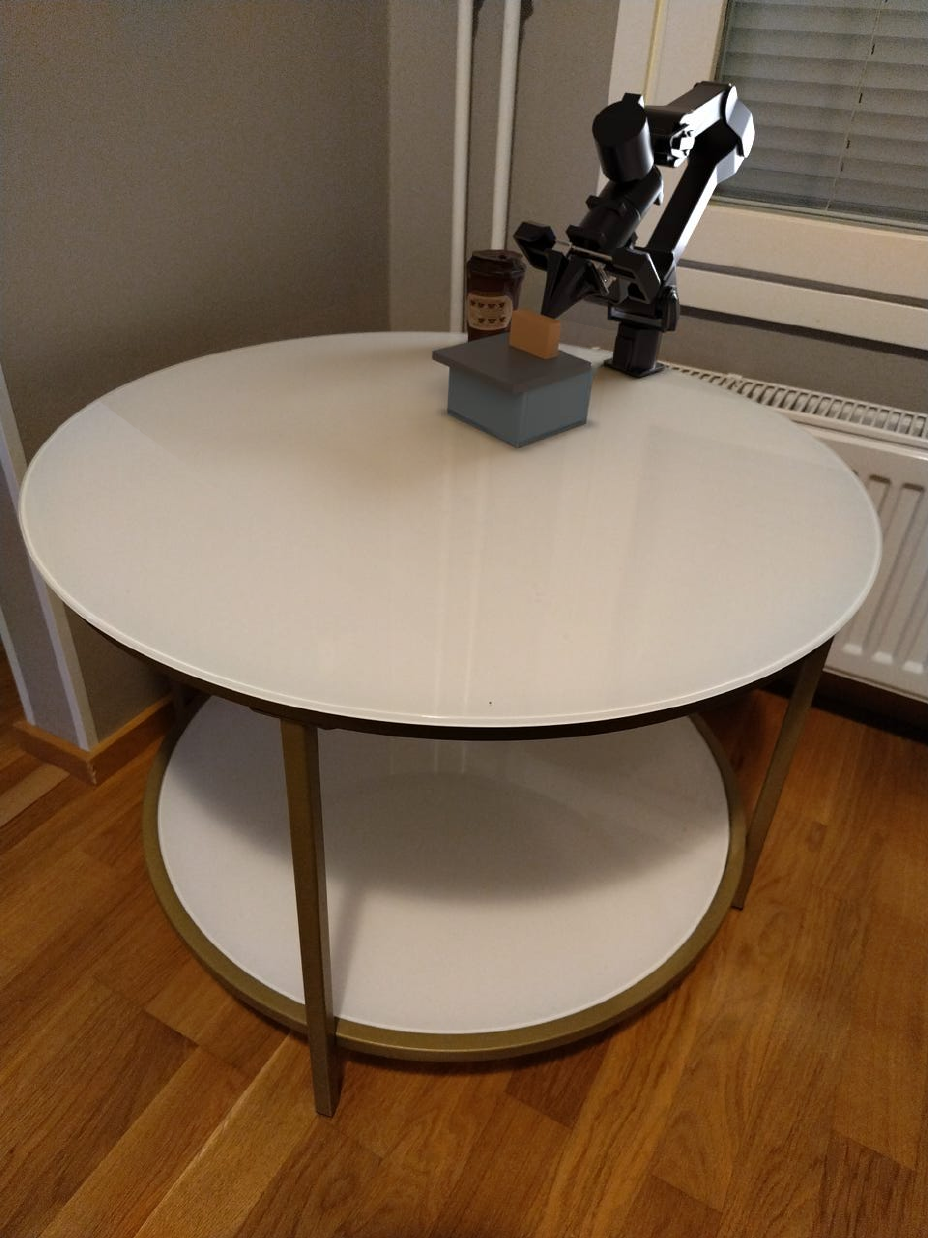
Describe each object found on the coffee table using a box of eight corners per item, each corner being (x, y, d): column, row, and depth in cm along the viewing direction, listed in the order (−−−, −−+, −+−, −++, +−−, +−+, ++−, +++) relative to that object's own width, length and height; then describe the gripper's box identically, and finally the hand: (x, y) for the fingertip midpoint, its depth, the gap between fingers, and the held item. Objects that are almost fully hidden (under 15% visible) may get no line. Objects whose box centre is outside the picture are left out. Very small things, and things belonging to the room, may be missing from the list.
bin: (515, 392, 111) (520, 338, 107) (586, 423, 104) (594, 367, 100) (446, 413, 104) (449, 356, 100) (517, 448, 98) (523, 388, 93)
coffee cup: (513, 361, 120) (522, 264, 113) (455, 354, 121) (460, 257, 114) (522, 342, 127) (531, 249, 120) (467, 335, 128) (473, 242, 121)
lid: (510, 339, 107) (514, 297, 104) (590, 370, 99) (597, 327, 96) (431, 359, 99) (433, 315, 96) (512, 395, 92) (516, 348, 89)
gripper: (703, 273, 101) (629, 383, 101) (582, 239, 111) (515, 339, 111) (678, 205, 92) (596, 326, 92) (549, 175, 102) (475, 284, 102)
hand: (543, 320), depth 99 cm, fingers closed, pressing on lid
